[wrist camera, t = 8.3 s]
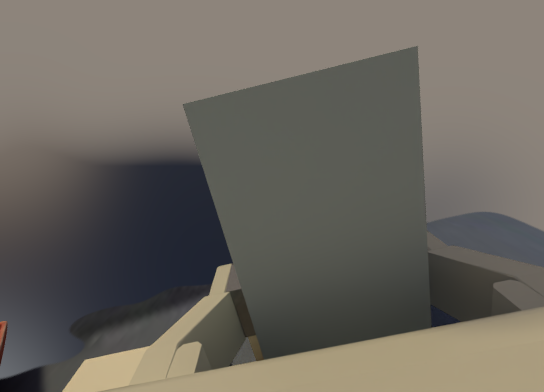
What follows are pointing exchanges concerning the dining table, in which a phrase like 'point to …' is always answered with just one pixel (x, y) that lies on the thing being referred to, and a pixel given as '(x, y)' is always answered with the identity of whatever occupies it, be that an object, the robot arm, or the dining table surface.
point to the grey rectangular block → (323, 201)
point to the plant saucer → (2, 337)
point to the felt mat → (106, 372)
